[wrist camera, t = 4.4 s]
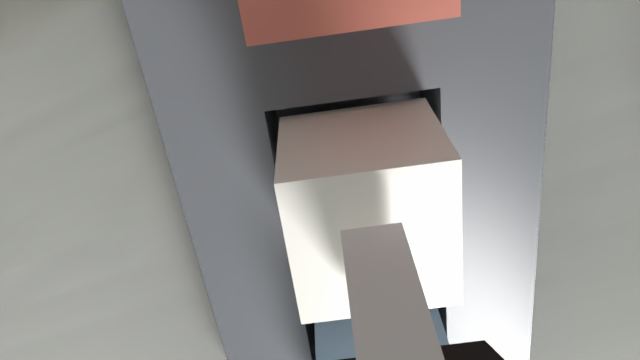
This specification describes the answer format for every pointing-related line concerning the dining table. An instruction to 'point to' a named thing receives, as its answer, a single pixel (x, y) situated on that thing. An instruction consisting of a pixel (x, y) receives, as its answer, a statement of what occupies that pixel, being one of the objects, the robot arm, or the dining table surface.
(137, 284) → the dining table surface
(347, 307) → the ivory key
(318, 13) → the brick key
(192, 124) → the console
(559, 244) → the dining table surface
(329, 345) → the slate key
